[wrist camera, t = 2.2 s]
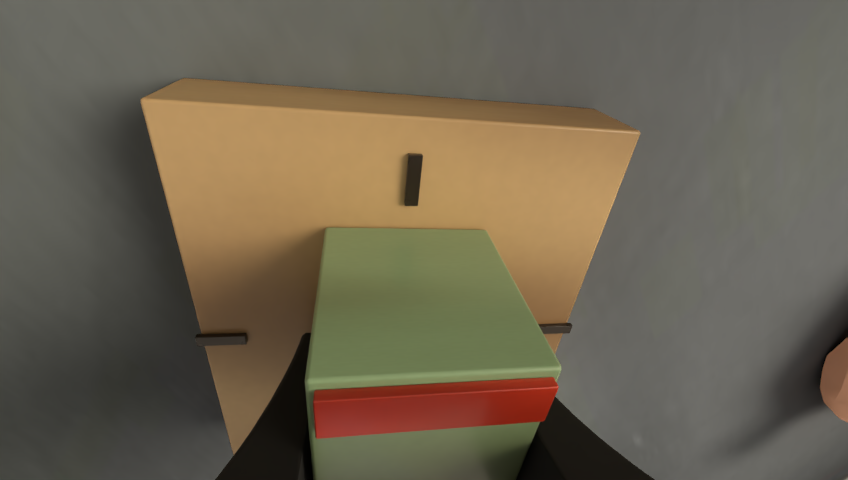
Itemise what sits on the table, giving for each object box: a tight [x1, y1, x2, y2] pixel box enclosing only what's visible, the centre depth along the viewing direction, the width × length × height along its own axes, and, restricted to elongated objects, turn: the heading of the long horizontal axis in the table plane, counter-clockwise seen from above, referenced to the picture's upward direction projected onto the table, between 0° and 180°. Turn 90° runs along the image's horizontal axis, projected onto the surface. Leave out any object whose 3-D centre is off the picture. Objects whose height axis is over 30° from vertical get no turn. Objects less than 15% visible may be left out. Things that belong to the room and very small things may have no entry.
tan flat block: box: [140, 78, 640, 455], centre depth 14 cm, size 14×12×3 cm
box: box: [305, 227, 561, 480], centre depth 11 cm, size 8×4×5 cm, turn 174°
